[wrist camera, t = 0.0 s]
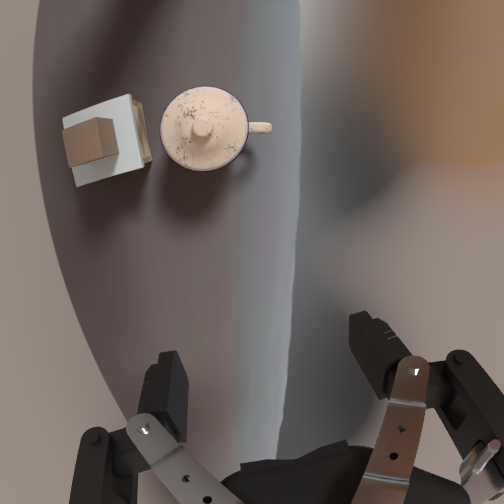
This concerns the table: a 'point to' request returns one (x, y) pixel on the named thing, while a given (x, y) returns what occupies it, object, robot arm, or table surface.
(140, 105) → the box
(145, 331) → the table surface
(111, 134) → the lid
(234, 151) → the teacup with lid
